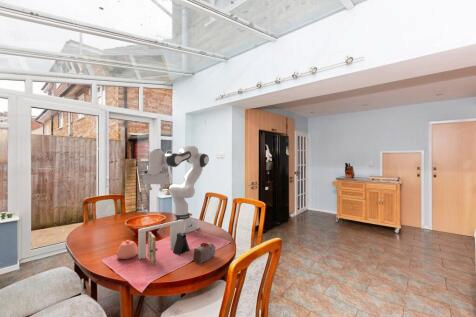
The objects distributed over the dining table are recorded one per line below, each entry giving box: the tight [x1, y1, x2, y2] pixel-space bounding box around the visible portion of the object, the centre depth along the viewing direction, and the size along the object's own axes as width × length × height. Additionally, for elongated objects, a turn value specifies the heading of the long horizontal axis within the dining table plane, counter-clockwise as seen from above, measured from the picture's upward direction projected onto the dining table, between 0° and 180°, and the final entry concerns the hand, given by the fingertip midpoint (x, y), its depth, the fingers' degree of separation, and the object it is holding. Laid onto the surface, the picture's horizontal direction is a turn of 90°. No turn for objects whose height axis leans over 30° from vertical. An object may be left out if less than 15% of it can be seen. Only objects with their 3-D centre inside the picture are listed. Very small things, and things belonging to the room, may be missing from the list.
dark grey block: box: [193, 241, 216, 265], centre depth 135 cm, size 14×8×10 cm, turn 149°
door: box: [147, 230, 158, 266], centre depth 133 cm, size 14×4×16 cm, turn 34°
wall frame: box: [137, 219, 185, 260], centre depth 145 cm, size 30×2×18 cm, turn 134°
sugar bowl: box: [116, 239, 138, 261], centre depth 138 cm, size 12×14×10 cm
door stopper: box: [172, 233, 190, 256], centre depth 145 cm, size 9×6×12 cm, turn 144°
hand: (155, 190), depth 159 cm, fingers open, 8 cm apart
